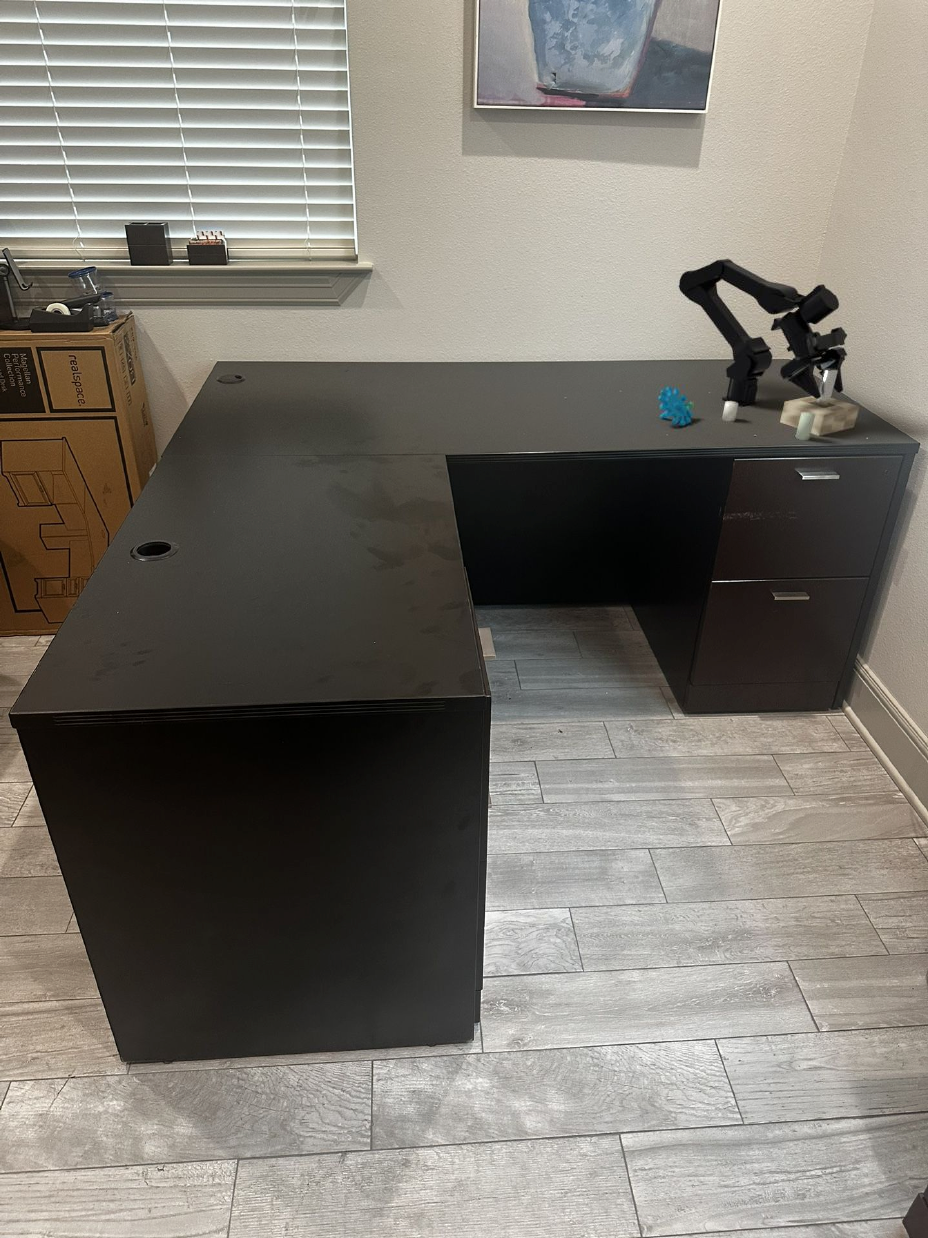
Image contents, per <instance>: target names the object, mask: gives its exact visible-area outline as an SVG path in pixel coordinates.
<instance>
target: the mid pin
mask: <svg viewBox="0 0 928 1238" xmlns="http://www.w3.org/2000/svg"><path fill="white" fill-rule="evenodd" d="M814 419H815V414H813V413H809V412H802V413H801V417H800V421H799V425H798V428H796V434H795V439H798V440H801V441H808V440H810V438H811V434H812V433H811V430H812V426H813V422H814Z"/></svg>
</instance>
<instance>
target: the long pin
mask: <svg viewBox="0 0 928 1238" xmlns="http://www.w3.org/2000/svg"><path fill="white" fill-rule="evenodd" d="M837 372H838V370H836V369H832V368H825V369H824V371H823V375H822V376H821V379H820V384H819V386H818V388H819V391H820V394H821V397H820V398H818V399H816V403H815V405H816V406H819V407H822V408H827V407H828V406H829V403H830V399H831V398H832V394H833V391H834V388H833V387H834V383H835V380H836V376H837Z"/></svg>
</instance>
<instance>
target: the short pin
mask: <svg viewBox="0 0 928 1238" xmlns="http://www.w3.org/2000/svg"><path fill="white" fill-rule="evenodd" d="M738 406H739V405H738V403H737V402H733V401H726V400H725V402H724V408H723V411H722V412H723V413H722V416H721V417H722V418H721V420H722V421H724V422H731V423H732V422H735V421H736V417H737V413H738V412H737V411H738V408H739V407H738Z"/></svg>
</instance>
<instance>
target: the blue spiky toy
mask: <svg viewBox="0 0 928 1238" xmlns="http://www.w3.org/2000/svg"><path fill="white" fill-rule="evenodd" d="M680 393H681V390H680V389H679V388H675V389H674V388H673V387H672V386H667V387H666V388H663V389H662V390H661V391H660V394H661V395H659V396H658V402H661V404H660V405H659V409H660V410H661V411H663V410H665V411H664V412H662V413H661V415H659V418H660V419H661V420H664V419H665V418H666V419H669V418H670V417H674V418H673V419H671V423H672V424H673V425H675V426H676V425H677V424H679V426H681V427H685V425H688V424H689V423H691V422H692V419H691V418H692V417H693V416H694V412H693V411H691V410H690V409H692V407H693V406H695V403H694V402H693V401H690V402H685V401H686V400H687V399H688V397H687V396H686V394H682V395H681V396H678V395H679V394H680ZM679 420H680V421H679Z"/></svg>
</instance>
